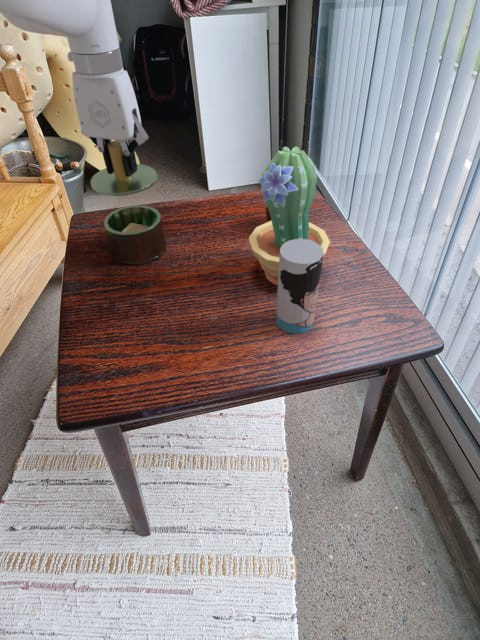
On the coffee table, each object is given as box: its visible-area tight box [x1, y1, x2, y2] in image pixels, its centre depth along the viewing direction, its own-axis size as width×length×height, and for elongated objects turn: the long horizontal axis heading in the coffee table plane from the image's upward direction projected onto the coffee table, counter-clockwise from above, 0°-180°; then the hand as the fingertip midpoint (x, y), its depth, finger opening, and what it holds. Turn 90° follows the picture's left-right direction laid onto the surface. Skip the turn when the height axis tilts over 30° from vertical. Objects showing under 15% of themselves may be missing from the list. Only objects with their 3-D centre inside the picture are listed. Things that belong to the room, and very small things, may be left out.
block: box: [122, 223, 149, 233], centre depth 91 cm, size 4×4×4 cm
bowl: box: [103, 204, 167, 266], centre depth 90 cm, size 12×12×8 cm
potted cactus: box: [248, 145, 331, 286], centre depth 77 cm, size 15×15×25 cm
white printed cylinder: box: [275, 239, 324, 335], centre depth 70 cm, size 7×7×15 cm
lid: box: [90, 140, 158, 197], centre depth 79 cm, size 13×13×8 cm
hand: (122, 171), depth 80 cm, fingers closed on lid, 3 cm apart
